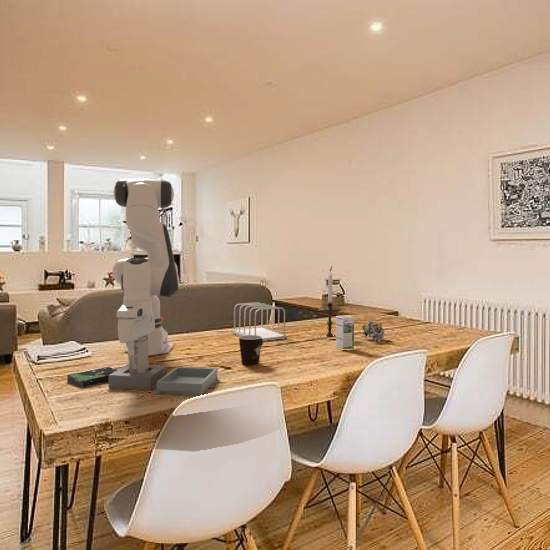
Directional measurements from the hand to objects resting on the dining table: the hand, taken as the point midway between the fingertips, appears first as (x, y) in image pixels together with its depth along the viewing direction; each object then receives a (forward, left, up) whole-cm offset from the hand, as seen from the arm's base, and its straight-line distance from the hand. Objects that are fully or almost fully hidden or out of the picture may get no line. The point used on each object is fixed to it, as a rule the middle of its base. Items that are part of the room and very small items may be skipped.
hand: (138, 351), depth 155 cm
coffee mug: (-31, +32, -10) cm, 46 cm away
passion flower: (-82, +79, -10) cm, 114 cm away
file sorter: (-84, +25, -10) cm, 88 cm away
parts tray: (+1, +17, -10) cm, 20 cm away
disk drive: (-1, -15, -11) cm, 19 cm away
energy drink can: (0, 0, -10) cm, 10 cm away
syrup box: (-61, +66, -10) cm, 90 cm away
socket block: (0, 0, -10) cm, 10 cm away
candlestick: (-85, +59, -10) cm, 104 cm away
